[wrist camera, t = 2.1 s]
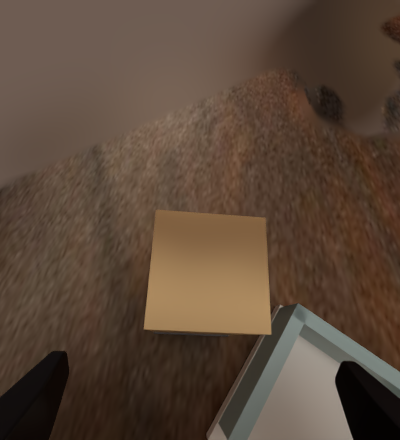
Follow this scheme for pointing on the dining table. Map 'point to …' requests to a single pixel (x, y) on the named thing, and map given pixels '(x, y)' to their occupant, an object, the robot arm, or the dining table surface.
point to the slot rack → (295, 382)
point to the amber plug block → (208, 275)
